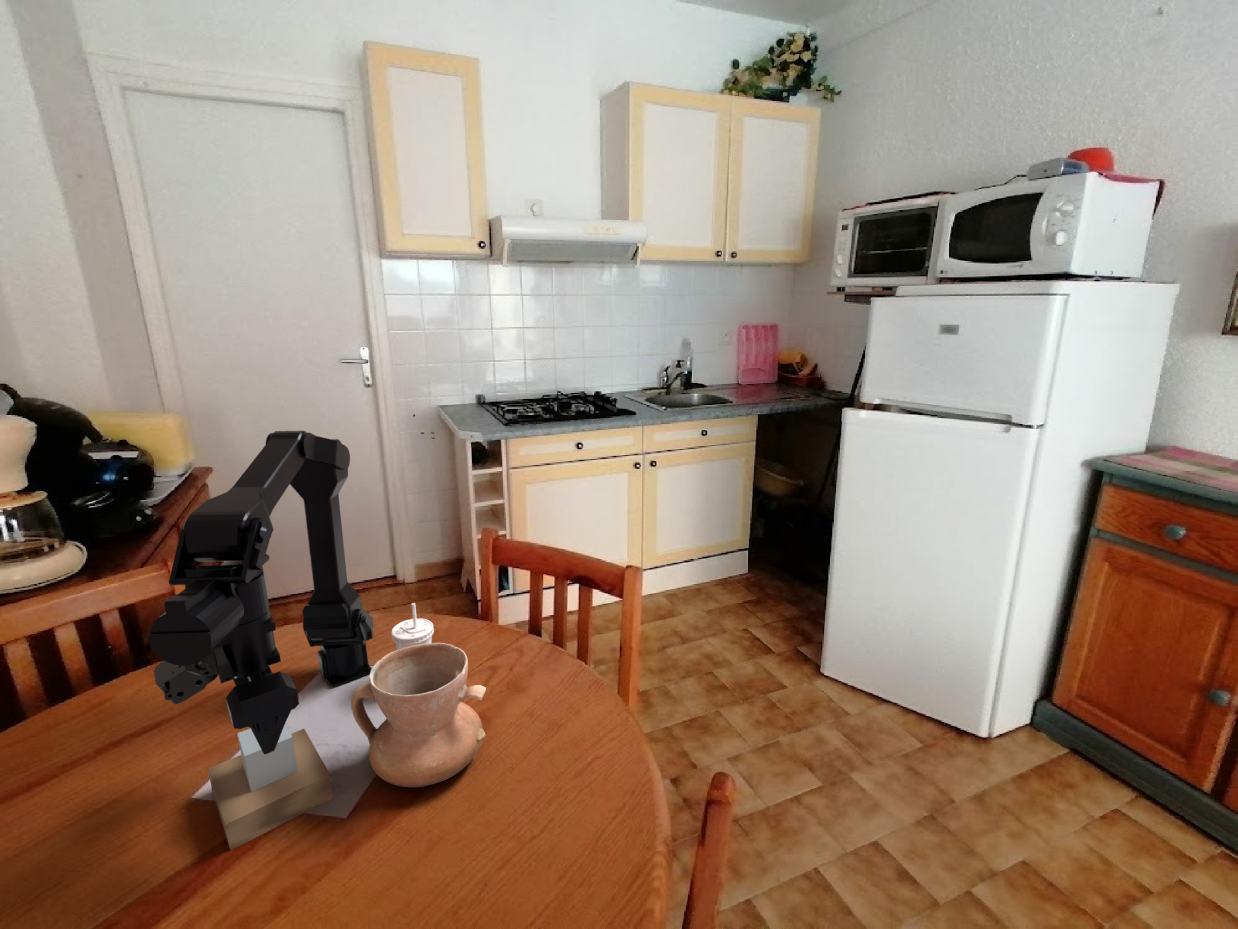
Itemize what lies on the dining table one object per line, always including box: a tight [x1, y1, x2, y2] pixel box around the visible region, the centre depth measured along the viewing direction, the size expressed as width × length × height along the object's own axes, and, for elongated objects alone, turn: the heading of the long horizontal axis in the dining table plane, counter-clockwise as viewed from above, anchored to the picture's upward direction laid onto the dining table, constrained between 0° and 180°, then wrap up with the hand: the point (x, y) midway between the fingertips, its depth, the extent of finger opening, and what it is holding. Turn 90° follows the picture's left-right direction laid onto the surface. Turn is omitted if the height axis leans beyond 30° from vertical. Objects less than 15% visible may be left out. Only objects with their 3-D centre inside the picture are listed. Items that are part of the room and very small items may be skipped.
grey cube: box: [236, 722, 298, 792], centre depth 73 cm, size 5×5×5 cm
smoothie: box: [391, 602, 435, 650], centre depth 95 cm, size 6×6×14 cm
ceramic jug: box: [350, 642, 487, 788], centre depth 79 cm, size 18×14×14 cm
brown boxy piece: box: [207, 728, 334, 851], centre depth 74 cm, size 11×11×4 cm
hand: (261, 731), depth 72 cm, fingers open, 9 cm apart
